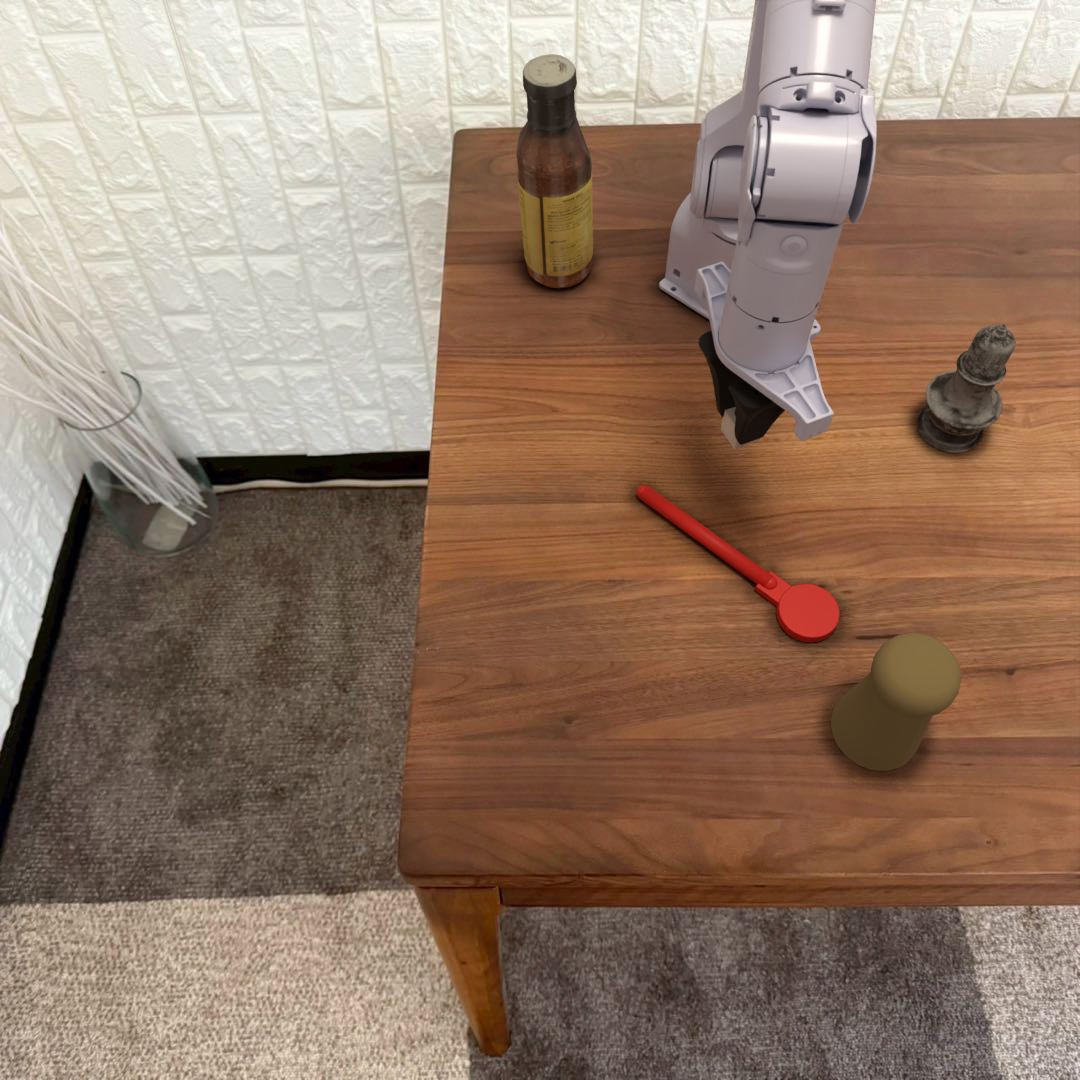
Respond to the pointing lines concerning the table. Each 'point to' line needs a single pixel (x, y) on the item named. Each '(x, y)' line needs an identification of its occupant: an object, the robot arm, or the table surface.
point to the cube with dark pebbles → (731, 428)
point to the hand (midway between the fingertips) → (740, 423)
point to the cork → (896, 701)
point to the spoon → (761, 578)
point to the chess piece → (967, 393)
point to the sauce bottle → (554, 177)
